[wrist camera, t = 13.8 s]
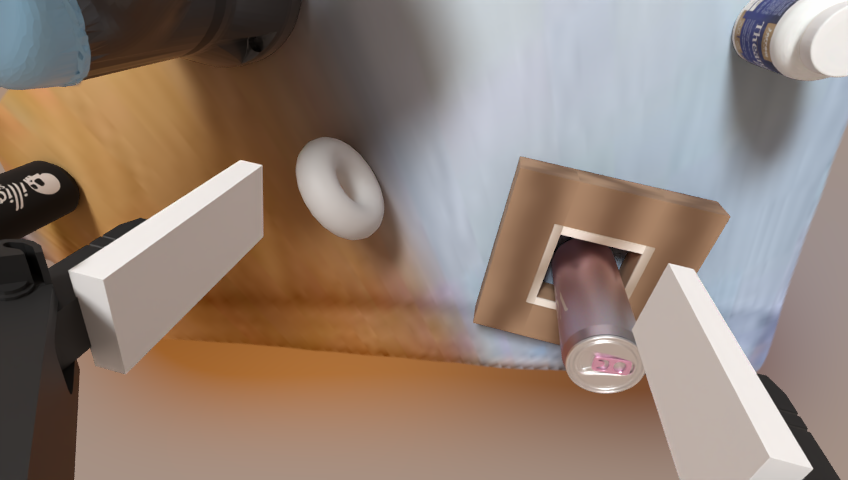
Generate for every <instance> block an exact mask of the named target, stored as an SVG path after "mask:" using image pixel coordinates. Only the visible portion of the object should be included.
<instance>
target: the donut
mask: <svg viewBox="0 0 848 480" xmlns="http://www.w3.org/2000/svg"><path fill="white" fill-rule="evenodd" d="M296 177H297V183H298V188H299V191H300V193H301V196H302V198H303V200H304V203H305V204H306V206H307V207H308V209H309V210H310V212H311V213H312V215H313V216H314V217H315V218H316V219H317V220H318V222H319V223H320V224H321V225H322V226H323V227H324V228H326V229H327V230H329V231H330V232H332V233H333V234H335V235H337V236H338V237H342V238H345V239H348V240H358V239H364V238H367V237H369V236H370V235H372V234H373V233H374V232H375V231H376V230H377V229H378V228H379V226H380V225H381V222H382V219H383V216H384V199H383V195H382V191H381V188H380V186H379V183H378V181H377V179H376V176H375V175H374V173H373V171H372V170H371V168H370V167H369V165H368V164H367V163H366V161H365V160H364V159H363V158H362V156H361V155H360V154H359V153H358V152H357V151H356V150H354V149H353V148H352V147H351V146H350V145H348V144H346V143H344V142H343V141H341V140H338V139H335V138H330V137H320V138H317V139H315V140H312V141H310V142H308V143H307V144H306V145H305V146H304V147H303V149H302V150H301V152H300V153H299V155H298V158H297V164H296ZM340 184H341V185H340ZM341 186H342V187H343V189H344V190H343V189H342V187H341ZM344 191H345V192H344Z"/></svg>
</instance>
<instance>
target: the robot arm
mask: <svg viewBox="0 0 848 480" xmlns="http://www.w3.org/2000/svg"><path fill="white" fill-rule="evenodd" d="M300 5H301V0H0V87H3V88H6V89H14V90H25V89H36V88H47V87H57V86H59V87H66V86H72V85H76V84H78V83H80V82H81V81H82V80H86V79H90V78H95V77H99V76H103V75H107V74H111V73H116V72H120V71H124V70H128V69H132V68H137V67H141V66H145V65H149V64H153V63H158V62H162V61H166V60H170V59H174V58H178V57H180V58H184V59H188V60H191V61H195V62H198V63H202V64H206V65H209V66H215V67H237V66H242V65H246V64H249V63H253V62H256V61H259V60H261V59H263V58H266V57H267V56H269V55H271V54H272V53H273V52H275V51H276V50H277V49H278V48H279V47H280V46H281V45H282V44H283V43H284V42H285V40H286V39H287V38H288V36H289V34H290V33H291V31H292V29H293V27H294V25H295V23H296V20H297V17H298V13H299V10H300ZM262 238H263V165H260V164H256V163H252V162H247V161H243V160H239V161H238V162H236V163H235V164H233V165H232V166H230V167H228V168H227V169H225V170H224V171H222V172H221V173H219V174H218V175H216V176H214V177H213V178H211V179H210V180H208V181H207V182H205V183H204V184H202V185H200V186H199V187H197V188H196V189H194V190H193V191H191V192H190V193H188V194H186V195H185V196H183V197H182V198H180V199H179V200H177V201H176V202H174V203H172V204H171V205H169V206H168V207H166V208H165V209H163V210H162V211H160V212H158V213H157V214H155V215H154V216H152V217H151V218H149V219H148V220H147V219H143V218H139V219H136V220H133V221H130V222H127V223H124V224H121V225H119V226H117V227H115V228H114V229H112V230H110V231H109V232H107V233H105V234H104V235H103V237H99V238H97V239H96V240H94V241H92V242H91V243H90V245H86V246H84V247H83V248H81V249H79V250H78V251H76V252H74V253H73V254H71V255H69V256H68V257H66V258H65V259H63V260H61V261H60V262H58V263H56V264H55V265H53V266H51V267H50V268H48V267H47V264H46V260H45V257H44V254H43V251H42V248H41V245H39V244H37V243H35V242H34V241H30V240H24V239H4V240H0V480H74V472H75V452H76V432H77V431H76V430H77V412H78V391H79V373H80V369H79V366H78V363H77V358H79V357H80V356H81V355H82V354H83V353H84V352H86V351H87V350H88V349H89V348H90V349H91V352H92V356H93V359H94V363H95V366H98V367H101V368H105V369H108V370H112V371H115V372H119V373H123V374H127V373H128V372H129V371H130V370H131V369H132V368H133V367H134V366H135V365H136V364H137V363H138V362H139V361H140V360H141V358H143V357H144V356H145V355H146V354H147V353H148V352H149V351H150V350H151V349H152V348H153V347H154V346H155V344H157V342H159V341H160V340H161V339H162V338H163V337H164V336H165V335H166V334H167V333H168V332H169V331H170V330H171V329H172V328H173V327H174V326H175V325H176V324H177V323H178V322H179V321H180V320H181V319H182V318H183V317H184V316H185V315H186V314H187V313H188V312H189V311H190V310H191V309H192V308H193V307H194V306H195V305H196V304H197V303H198V302H199V301H200V300H201V299H202V298H203V297H204V296H205V295H206V294H207V293H208V292H209V291H210V290H211V289H212V288H213V287H214V286H215V285H216V284H217V283H218V282H219V281H220V280H221V279H222V278H223V277H224V276H225V275H226V274H227V273H228V272H229V271H230V270H231V269H232V268H233V267H234V266H235V265H236V264H237V263H238V262H239V261H240V260H241V259H242V258H243V257H244V256H245V255H246V254H247V253H248V252H249V251H250V250H251V249H252V248H253V247H254V246H255V245H256V244H257V243H258V242H259V241H260V240H261V239H262ZM632 332H633V335H634V338H635V341H636V344H637V348H638V351H639V354H640V357H641V360H642V363H643V366H644V370H645V373H646V376H647V379H648V382H649V385H650V388H651V392H652V395H653V398H654V401H655V404H656V407H657V410H658V413H659V417H660V420H661V423H662V426H663V429H664V432H665V435H666V438H667V442H668V445H669V448H670V451H671V454H672V457H673V461H674V463H675V467H676V470H677V473H678V476H679V479H680V480H840V478H839V477H838V475H837V474H836V472H835V470H834V469H833V467H832V466H831V464H830V463H829V461H828V459H827V458H826V456H825V455H824V453H823V452H822V450H821V449H820V447H819V446H818V444H817V442H816V441H815V440H814V438H813V436H812V435H811V433H810V432H807V427H806V425H805V424H804V422H803V420H802V419H801V418H800V417H799V416H797V414H798V413H797V411H796V409H795V408H794V406H793V405H792V403H791V402H790V400H789V399H788V397H787V395H786V394H785V393H784V392H783V391H782V390H781V389H780V388H779V387H778V386H777V385H776V384H775V383H774V382H773V381H772V380H770V379H769V378H768V377H767V376H765V375H761V374H757V373H756V372H755V371H754V369H753V367H752V366H751V364H750V362H749V361H748V359H747V357H746V356H745V354H744V352H743V351H742V349H741V347H740V346H739V344H738V342H737V341H736V339H735V337H734V336H733V334H732V332H731V331H730V329H729V327H728V326H727V324H726V322H725V321H724V319H723V317H722V316H721V314H720V312H719V311H718V309H717V307H716V306H715V304H714V302H713V301H712V299H711V297H710V295H709V294H708V292H707V290H706V289H705V287H704V285H703V284H702V282H701V280H700V279H699V277H698V275H697V274H696V272H695V270H694V269H691V268H687V267H683V266H679V265H674V264H670V263H668V265H667V267H666V268H665V270H664V272H663V274H662V276H661V277H660V279H659V281H658V283H657V285H656V287H655V288H654V290H653V292H652V294H651V296H650V298H649V299H648V301H647V303H646V305H645V307H644V308H643V310H642V312H641V314H640V316H639V318H638V319H637V321H636V323H635V325H634V327H633V328H632Z"/></svg>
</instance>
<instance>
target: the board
mask: <svg viewBox="0 0 848 480" xmlns="http://www.w3.org/2000/svg"><path fill="white" fill-rule="evenodd" d="M729 218H730V215H729V214H728V213H727V212H726V211H725V210H724V209H723V208H722V206H721V205H720V204H719V203H718V202H716V201H712V200H707V199H703V198H699V197H694V196H690V195H686V194H681V193H677V192H673V191H668V190H664V189H660V188H655V187H651V186H647V185H642V184H638V183H634V182H629V181H625V180H621V179H616V178H612V177H608V176H603V175H599V174H594V173H590V172H586V171H581V170H577V169H573V168H568V167H564V166H560V165H555V164H551V163H547V162H542V161H538V160H534V159H529V158H525V157H521V156H520V159H519V162H518V165H517V169H516V172H515V175H514V179H513V182H512V185H511V189H510V192H509V195H508V199H507V202H506V205H505V209H504V212H503V216H502V219H501V222H500V226H499V229H498V232H497V236H496V239H495V242H494V246H493V249H492V252H491V256H490V259H489V262H488V266H487V269H486V272H485V276H484V279H483V282H482V286H481V289H480V292H479V296H478V299H477V302H476V306H475V313H474V320H473V323H476V324H480V325H484V326H488V327H492V328H496V329H500V330H504V331H508V332H511V333H515V334H519V335H523V336H527V337H531V338H535V339H539V340H542V341H546V342H550V343H554V344H558V345H560V336H559V327H558V318H557V309H556V300H555V291H554V285H553V284H549V283H545V282H542V281H543V279H544V276H545V274H546V271H547V268H548V266H549V263H550V261H551V258H552V255H553V253H554V250H555V248H556V245H557V242H558V240H559V237H560V235H565V236H569V237H573V238H577V239H581V240H585V241H590V242H594V243H598V244H602V245H606V246H610V247H614V248H619V249H623V250H627V251H628V253H627V255H626V257H625V259H624V261H623V263H622V265H621V267H620V269H619V273H620V276H621V279H622V282H623V285H624V288H625V291H626V294H627V296H628V299H629V302H630V305H631V308H632V311H633V314H634V317H635V320H636V321H637V319H638V318H639V316H640V314H641V312H642V310H643V308H644V307H645V305H646V303H647V301H648V299H649V298H650V296H651V294H652V292H653V290H654V288H655V287H656V285H657V283H658V281H659V279H660V277H661V276H662V274H663V272H664V270H665V268H666V267H667V265H668V263H670V264H674V265H679V266H683V267H687V268H691V269H694V270H695V272H696V274H697V272H698V270H699V269H700V267H701V265H702V264H703V262H704V260H705V259H706V257H707V255H708V254H709V252H710V250H711V249H712V247H713V245H714V244H715V242H716V240H717V239H718V237H719V235H720V234H721V232H722V230H723V229H724V227H725V225H726V223H727V222H728V220H729Z"/></svg>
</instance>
